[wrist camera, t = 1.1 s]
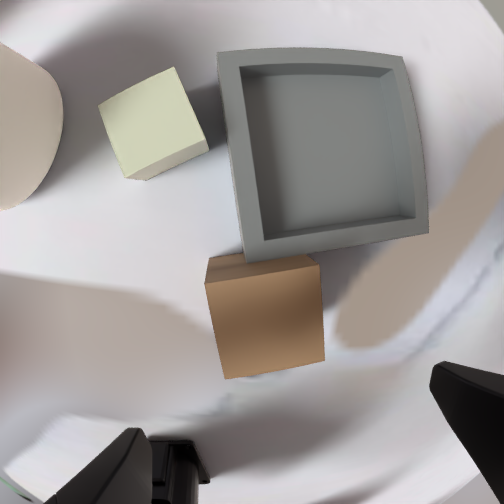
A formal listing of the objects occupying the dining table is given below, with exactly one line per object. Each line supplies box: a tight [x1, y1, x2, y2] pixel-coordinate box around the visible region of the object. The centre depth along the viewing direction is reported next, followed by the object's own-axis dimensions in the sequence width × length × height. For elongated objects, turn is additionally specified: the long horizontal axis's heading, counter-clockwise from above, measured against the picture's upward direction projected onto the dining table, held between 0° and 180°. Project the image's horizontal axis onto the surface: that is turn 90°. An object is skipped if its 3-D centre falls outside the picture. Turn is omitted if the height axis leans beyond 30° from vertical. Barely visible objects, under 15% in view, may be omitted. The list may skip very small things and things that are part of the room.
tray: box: [217, 48, 429, 264], centre depth 15 cm, size 11×11×3 cm
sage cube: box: [98, 67, 209, 181], centre depth 14 cm, size 4×4×4 cm
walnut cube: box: [204, 253, 325, 379], centre depth 16 cm, size 5×5×5 cm
